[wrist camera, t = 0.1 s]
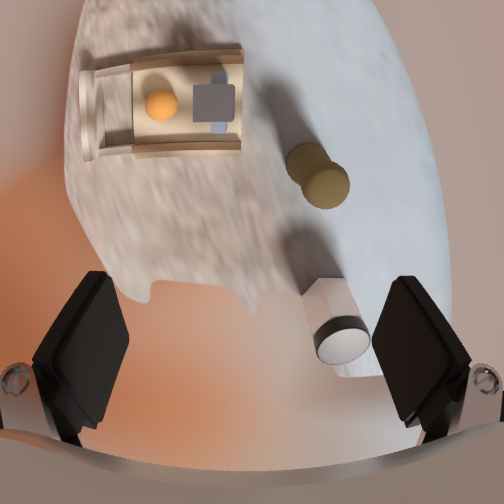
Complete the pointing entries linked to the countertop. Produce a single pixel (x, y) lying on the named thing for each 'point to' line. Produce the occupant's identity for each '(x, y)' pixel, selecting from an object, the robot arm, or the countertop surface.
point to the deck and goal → (181, 123)
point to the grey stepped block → (215, 102)
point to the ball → (161, 105)
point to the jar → (335, 321)
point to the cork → (318, 176)
